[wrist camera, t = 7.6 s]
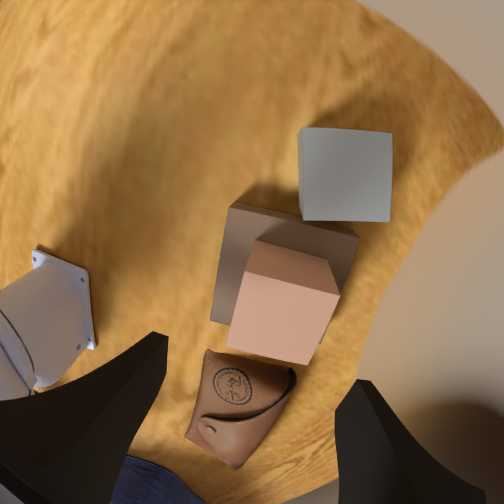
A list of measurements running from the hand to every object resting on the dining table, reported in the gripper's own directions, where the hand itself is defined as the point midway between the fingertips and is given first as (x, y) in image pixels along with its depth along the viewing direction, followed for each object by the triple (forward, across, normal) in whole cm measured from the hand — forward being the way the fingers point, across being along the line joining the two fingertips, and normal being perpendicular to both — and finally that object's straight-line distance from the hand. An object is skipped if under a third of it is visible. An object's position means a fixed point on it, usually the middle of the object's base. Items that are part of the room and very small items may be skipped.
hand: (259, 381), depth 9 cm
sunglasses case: (+11, 0, +17) cm, 20 cm away
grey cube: (+10, -2, -8) cm, 13 cm away
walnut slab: (+11, -1, 0) cm, 11 cm away
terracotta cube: (+8, -1, 0) cm, 8 cm away
